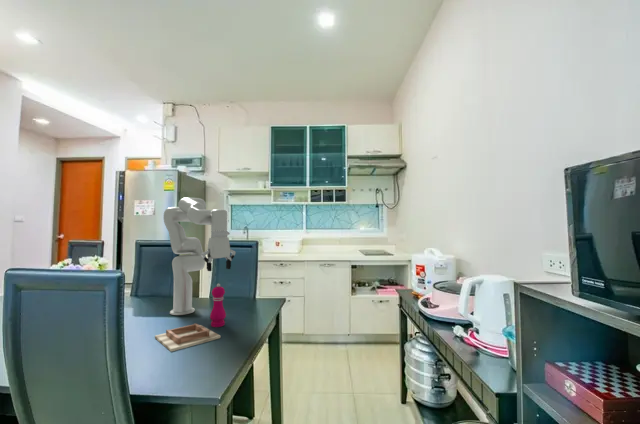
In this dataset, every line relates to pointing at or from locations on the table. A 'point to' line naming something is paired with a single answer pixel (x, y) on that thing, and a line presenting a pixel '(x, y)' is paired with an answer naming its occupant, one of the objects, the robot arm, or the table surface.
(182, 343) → the board
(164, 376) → the table surface
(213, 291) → the pepper mill
